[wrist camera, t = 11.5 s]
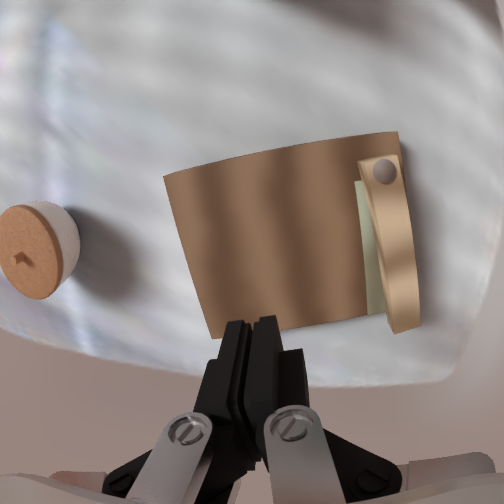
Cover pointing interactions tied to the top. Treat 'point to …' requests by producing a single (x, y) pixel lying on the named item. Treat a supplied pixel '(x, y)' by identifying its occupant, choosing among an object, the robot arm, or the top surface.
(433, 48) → the top surface
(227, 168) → the brown wooden flat board
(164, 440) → the robot arm
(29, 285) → the lidded jar
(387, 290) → the oak leg
